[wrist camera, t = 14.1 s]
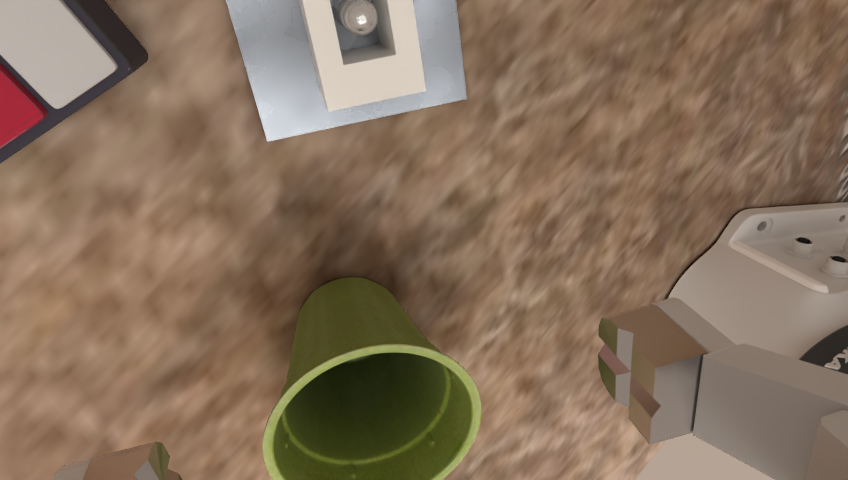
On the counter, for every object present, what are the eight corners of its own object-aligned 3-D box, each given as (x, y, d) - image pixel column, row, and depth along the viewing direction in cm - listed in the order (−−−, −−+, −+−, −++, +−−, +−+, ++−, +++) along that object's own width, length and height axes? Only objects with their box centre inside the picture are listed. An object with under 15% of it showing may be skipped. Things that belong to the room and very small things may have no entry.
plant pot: (339, 409, 43) (360, 542, 33) (225, 319, 37) (210, 447, 27) (460, 318, 42) (519, 427, 32) (364, 210, 36) (399, 303, 26)
